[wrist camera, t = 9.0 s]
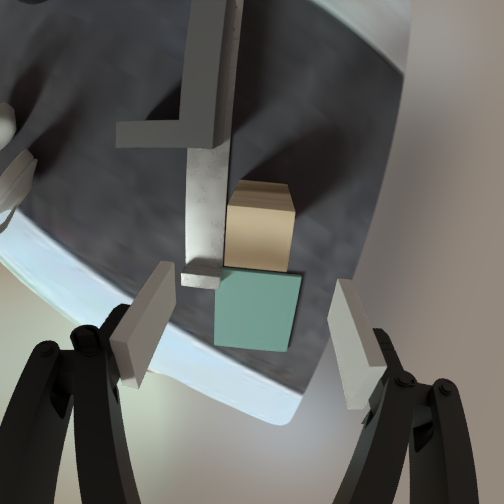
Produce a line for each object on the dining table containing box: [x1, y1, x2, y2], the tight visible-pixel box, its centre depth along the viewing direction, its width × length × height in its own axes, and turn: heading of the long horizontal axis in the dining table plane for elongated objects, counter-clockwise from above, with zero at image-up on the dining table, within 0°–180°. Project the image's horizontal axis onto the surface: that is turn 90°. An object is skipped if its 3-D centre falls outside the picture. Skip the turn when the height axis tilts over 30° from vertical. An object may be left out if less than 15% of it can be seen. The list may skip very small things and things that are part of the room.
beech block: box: [224, 180, 295, 272], centre depth 27 cm, size 5×5×10 cm
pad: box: [214, 267, 302, 352], centre depth 37 cm, size 12×10×1 cm
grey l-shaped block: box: [116, 0, 236, 149], centre depth 23 cm, size 16×9×6 cm, turn 175°
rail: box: [181, 0, 244, 290], centre depth 27 cm, size 35×4×2 cm, turn 175°
